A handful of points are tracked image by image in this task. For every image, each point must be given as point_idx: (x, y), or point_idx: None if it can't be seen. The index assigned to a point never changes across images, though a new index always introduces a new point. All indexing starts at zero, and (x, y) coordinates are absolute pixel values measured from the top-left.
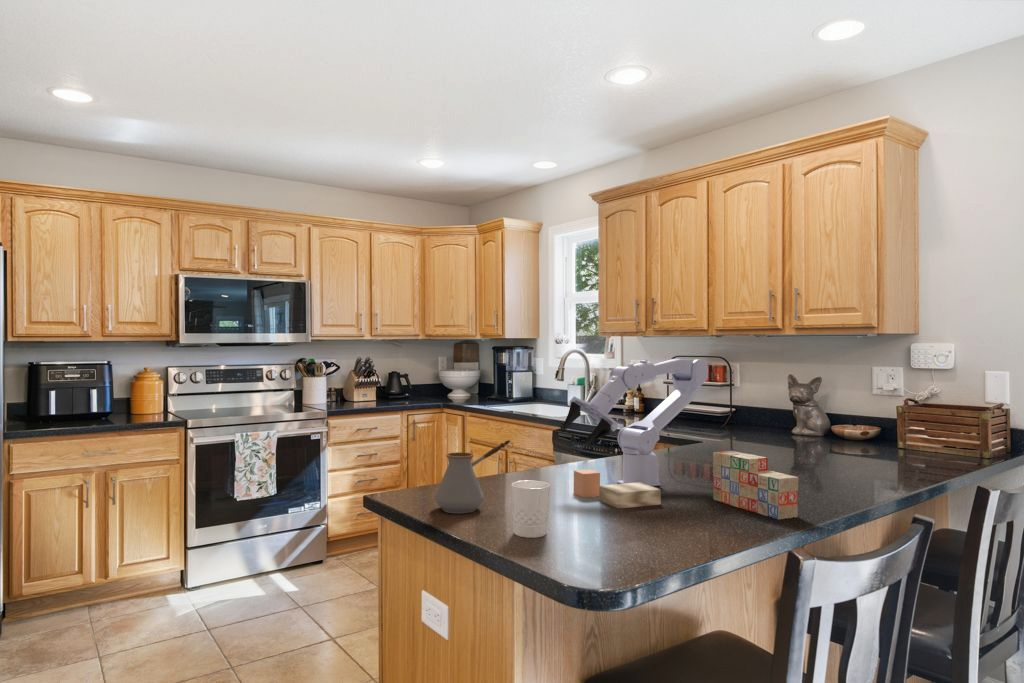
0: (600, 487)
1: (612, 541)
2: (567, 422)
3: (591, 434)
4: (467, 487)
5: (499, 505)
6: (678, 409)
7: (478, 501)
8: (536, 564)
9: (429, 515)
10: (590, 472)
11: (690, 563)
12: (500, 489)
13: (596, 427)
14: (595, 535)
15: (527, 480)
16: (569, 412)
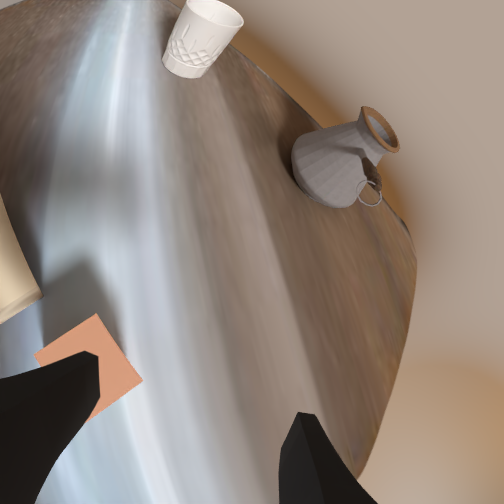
0: (34, 279)
1: (75, 36)
2: (302, 440)
3: (55, 371)
4: (322, 129)
5: (270, 206)
6: None
7: (294, 144)
8: (167, 7)
9: None
10: (70, 353)
11: (21, 3)
12: (316, 356)
13: (9, 403)
14: (92, 51)
15: (226, 25)
16: (363, 497)
